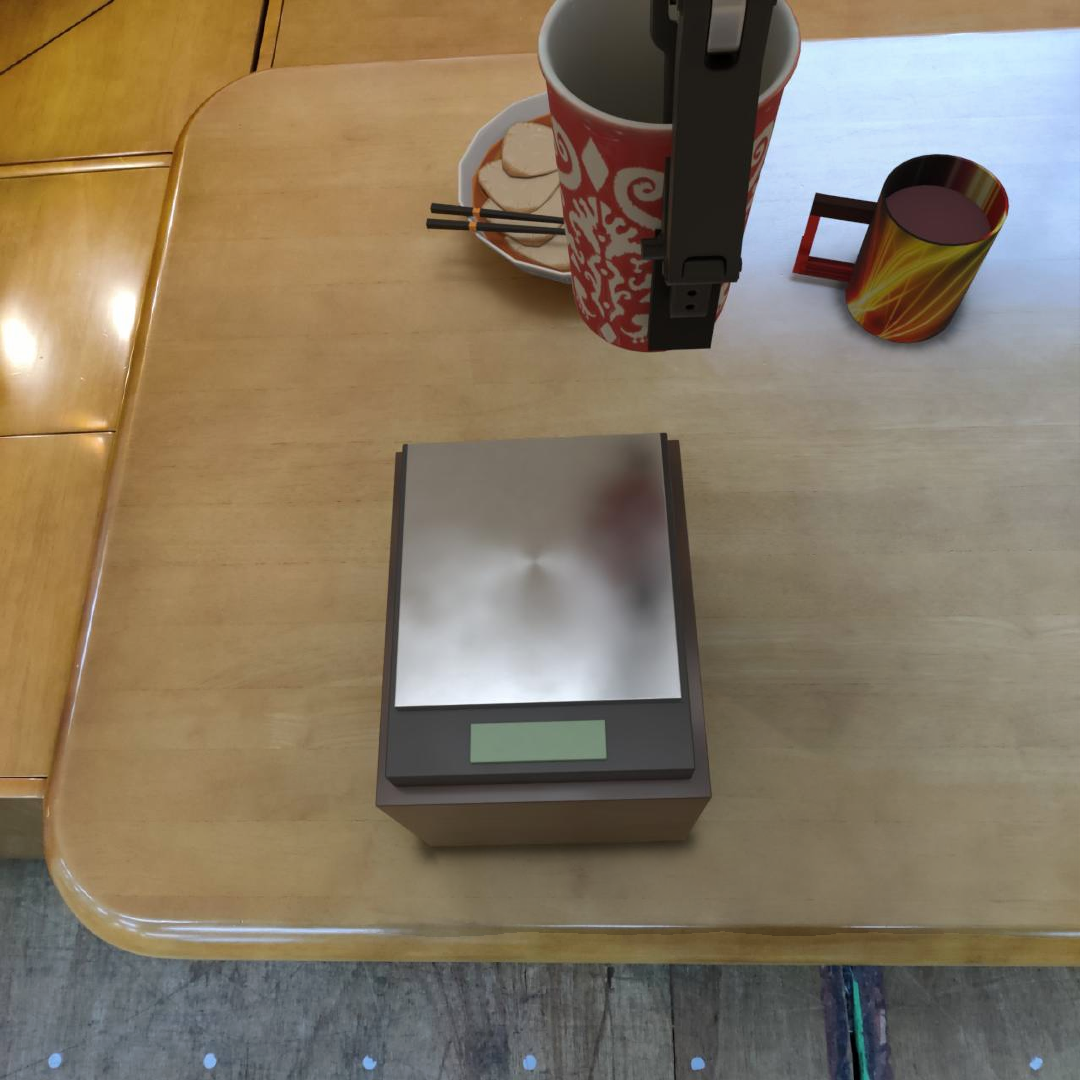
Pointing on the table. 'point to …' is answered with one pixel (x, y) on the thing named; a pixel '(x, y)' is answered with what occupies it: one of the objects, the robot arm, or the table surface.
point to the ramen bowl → (514, 191)
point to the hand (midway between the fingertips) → (670, 246)
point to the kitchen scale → (538, 615)
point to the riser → (556, 805)
